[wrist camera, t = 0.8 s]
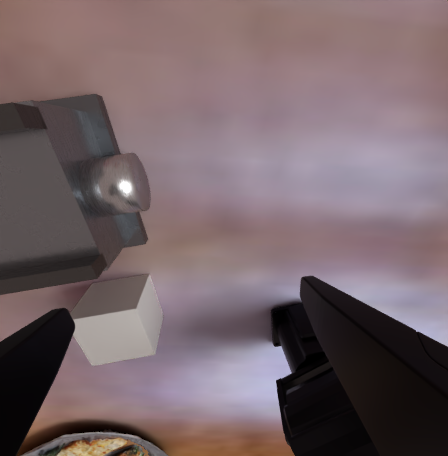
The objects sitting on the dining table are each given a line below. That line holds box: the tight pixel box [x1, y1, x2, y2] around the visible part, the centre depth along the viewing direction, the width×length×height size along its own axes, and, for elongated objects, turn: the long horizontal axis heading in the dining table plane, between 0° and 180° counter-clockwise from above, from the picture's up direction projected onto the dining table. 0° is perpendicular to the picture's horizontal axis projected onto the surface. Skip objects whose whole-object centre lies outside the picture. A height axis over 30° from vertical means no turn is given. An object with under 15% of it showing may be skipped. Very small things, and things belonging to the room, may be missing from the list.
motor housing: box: [0, 94, 151, 295], centre depth 14 cm, size 12×14×8 cm
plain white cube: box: [70, 274, 164, 366], centre depth 21 cm, size 6×6×5 cm
